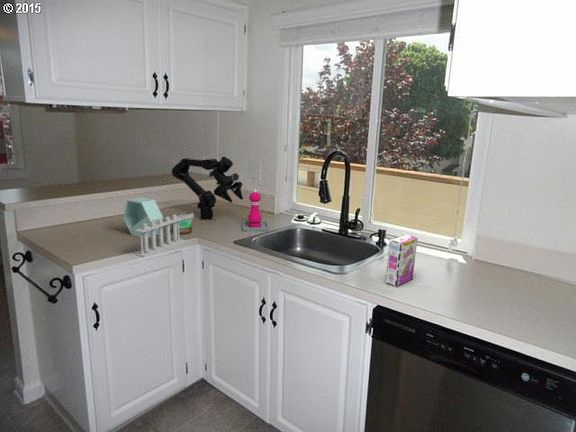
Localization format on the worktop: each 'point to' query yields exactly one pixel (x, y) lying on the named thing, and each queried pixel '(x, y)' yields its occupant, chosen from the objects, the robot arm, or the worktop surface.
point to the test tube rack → (153, 235)
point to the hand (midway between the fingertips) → (237, 200)
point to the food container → (184, 223)
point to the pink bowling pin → (255, 210)
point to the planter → (141, 215)
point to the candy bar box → (401, 260)
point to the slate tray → (263, 227)
